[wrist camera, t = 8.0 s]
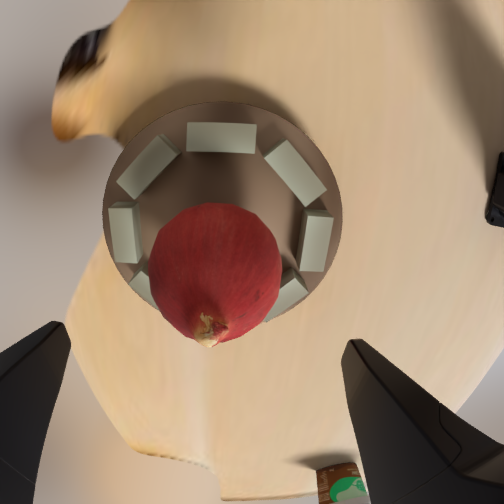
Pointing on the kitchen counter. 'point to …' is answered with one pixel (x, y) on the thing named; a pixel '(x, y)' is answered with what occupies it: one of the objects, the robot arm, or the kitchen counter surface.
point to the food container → (341, 485)
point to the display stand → (225, 190)
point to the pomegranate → (214, 272)
